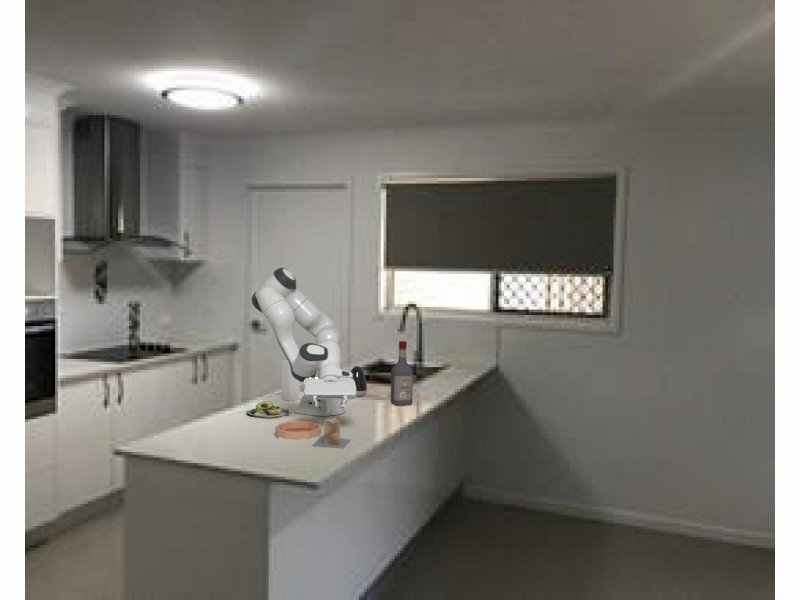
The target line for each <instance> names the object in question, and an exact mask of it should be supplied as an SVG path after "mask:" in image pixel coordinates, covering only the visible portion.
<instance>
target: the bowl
mask: <svg viewBox="0 0 800 600" xmlns="http://www.w3.org/2000/svg"><path fill="white" fill-rule="evenodd" d="M274 432H275V437H276V438H277V439H279V438H281V439H285V440H286V439H288V440H305V439H312V438H315V437H319V436H320V435H321V434H322V425H320V423H317V422H312V421H305V420H304V421H303V420H295V421H286V422H282V423H279V424H278V425H276V426H275V431H274Z"/></svg>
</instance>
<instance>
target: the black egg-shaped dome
mask: <svg viewBox="0 0 800 600" xmlns="http://www.w3.org/2000/svg"><path fill="white" fill-rule="evenodd" d="M350 372H351V373H352V374H353V380H354V381H355V385H356V398H361V397H363V396H365V394H366V392H367V390H368V384H367V380H366V375H365V372H364V370H363V368H362V367H360V366H358V365H356V366H353V367H352V368H351V369H350Z"/></svg>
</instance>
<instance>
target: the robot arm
mask: <svg viewBox="0 0 800 600" xmlns="http://www.w3.org/2000/svg"><path fill="white" fill-rule="evenodd" d="M251 304H252V306H253V307H254V308H255V309H256V310H257V311H258V312H260V313H262V314H263V315H264V317H265V319H266V320H267V321H268V323H269V325H270V327H271V329H272V331H273V333H274V335H275V337H276V340H277V342H278V345H279V347H280V349H281V350H282V353H283V354H284V356H285V358H287V360H288V362H289V364H290V367H291V373H292V375H293V377H294V378H295V379H297V380H298V381H299V382H303V386H304V389H303V396H302V397H301V398H300V401H299V405H298V406H297V407H295V409H294V413H295V414H299V415H308V416H309V415H310V416H316V417H329V416H336V415H341V414H344V413H346V409H345V405H346V404H347V402H348V400H355V399H356V398H357V397H356V385H355V381H354V380H353V374H352V373H351V371H347V370H344V369H343V359H342V358H343V357H342V344H343V342H344V338H345V335H344V331H343V329H342V328H341V327H340V326H339V325H338V324H337V323H336V322H335V321H334V320H333V319H332V318H330V317H329V316H328V315H327V314H326V313H325V312H323V311H322V310H321V309H320V308H319V307H318V306H317V305H316V304H315V303H314V302H313V301H312V300H311V299H310V298H309V297H308V296H307V295H306V294H305V293H303V292H302V290H301V289H298V288H297V279H296V277H295V275H294V274H293V272H292V271H290V270H289V269H287V268H285V267H278V268H277V269H275V270H274V271H273V273H271V274H270V275H269V276H268V277H267V278H266V279H265V280H264V281H263V283H262V284H261V285H260V286H259V287H258V289H257V290H256V291H254V293H253V295H252V296H251ZM295 322H297V324H298V325H299V326H300V327H301V328H303V329H304V330H305V331H307V332H308V333H309V334H311V335H312V336H313V337H314V338H315V342H316V343H314V342H307V343H304V344H302V345H301V346H300V347H299V346H298V344H297V342H296V340H295V335H294V332H295V331H294V328H295ZM316 375H317V376H316Z"/></svg>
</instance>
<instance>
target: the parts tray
mask: <svg viewBox="0 0 800 600" xmlns="http://www.w3.org/2000/svg"><path fill="white" fill-rule="evenodd" d="M351 441H352V439H351V438H350V439H349V438H340V445H324V437H319V438H318V439H317V440H316V441H315V442H314V443H313V444H312V445H311V447H313V448H315V447H318V448H331V449H345V448H346V446H347V445H348V444H349V443H350V442H351Z"/></svg>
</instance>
